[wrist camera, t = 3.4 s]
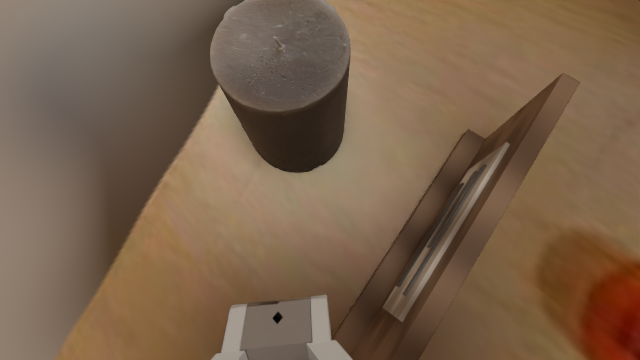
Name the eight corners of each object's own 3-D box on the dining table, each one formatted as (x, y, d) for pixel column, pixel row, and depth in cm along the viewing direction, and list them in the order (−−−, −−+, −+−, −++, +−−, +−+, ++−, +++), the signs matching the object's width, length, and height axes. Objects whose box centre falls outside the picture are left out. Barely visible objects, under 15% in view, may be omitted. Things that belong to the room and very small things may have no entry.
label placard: (463, 133, 36) (536, 58, 23) (508, 159, 35) (608, 97, 22) (331, 340, 32) (330, 387, 19) (378, 375, 31) (410, 451, 18)
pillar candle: (311, 190, 35) (299, 132, 21) (232, 141, 37) (170, 55, 22) (361, 114, 37) (382, 13, 23) (285, 71, 39) (259, -50, 24)
